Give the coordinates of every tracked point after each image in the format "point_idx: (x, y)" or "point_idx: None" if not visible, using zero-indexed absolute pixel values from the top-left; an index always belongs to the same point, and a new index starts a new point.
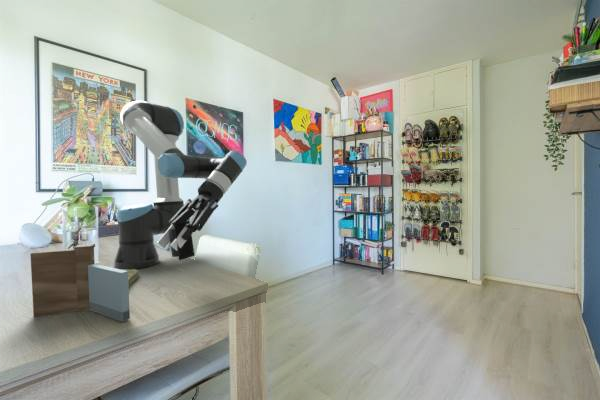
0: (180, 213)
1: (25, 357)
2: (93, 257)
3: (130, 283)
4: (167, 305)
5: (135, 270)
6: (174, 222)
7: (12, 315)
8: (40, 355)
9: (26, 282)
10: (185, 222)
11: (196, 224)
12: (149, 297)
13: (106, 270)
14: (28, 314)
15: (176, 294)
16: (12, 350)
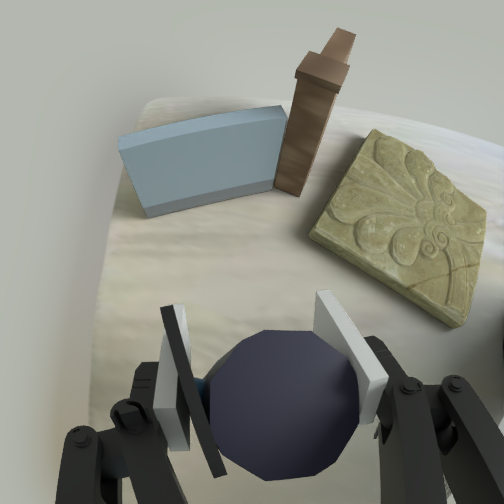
0: (478, 471)
1: (157, 109)
2: (318, 111)
3: (397, 290)
4: (156, 306)
5: (456, 313)
6: (394, 400)
7: (341, 111)
8: (146, 118)
9: (496, 161)
10: (201, 432)
11: (67, 443)
12: (251, 296)
13: (187, 121)
14: (329, 122)
15: (214, 358)
16: (193, 100)
